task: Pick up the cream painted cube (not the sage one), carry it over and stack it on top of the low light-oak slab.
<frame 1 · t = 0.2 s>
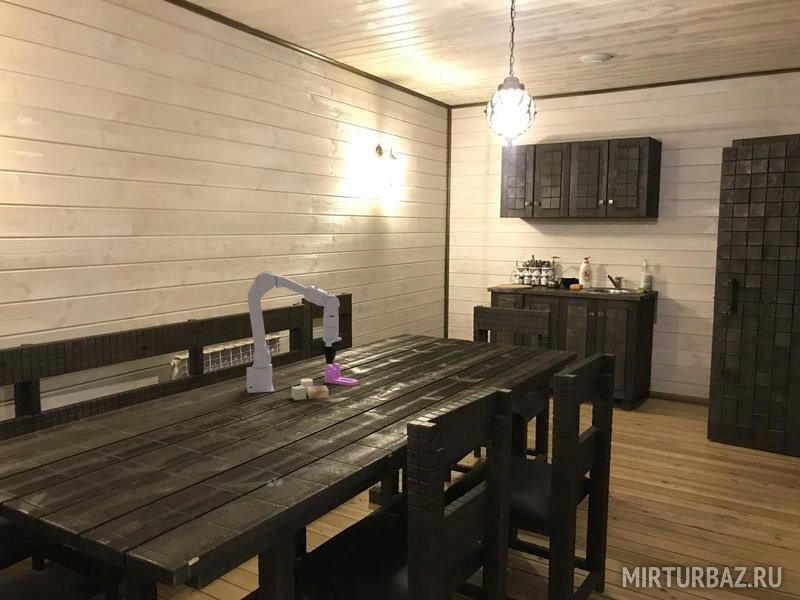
hand: (330, 361, 242), 10 cm above the table, fingers open, 7 cm apart
cream cube: (306, 390, 238), on the table
oak slab: (317, 396, 231), on the table
bracket: (342, 383, 250), on the table
sage cube: (298, 398, 227), on the table
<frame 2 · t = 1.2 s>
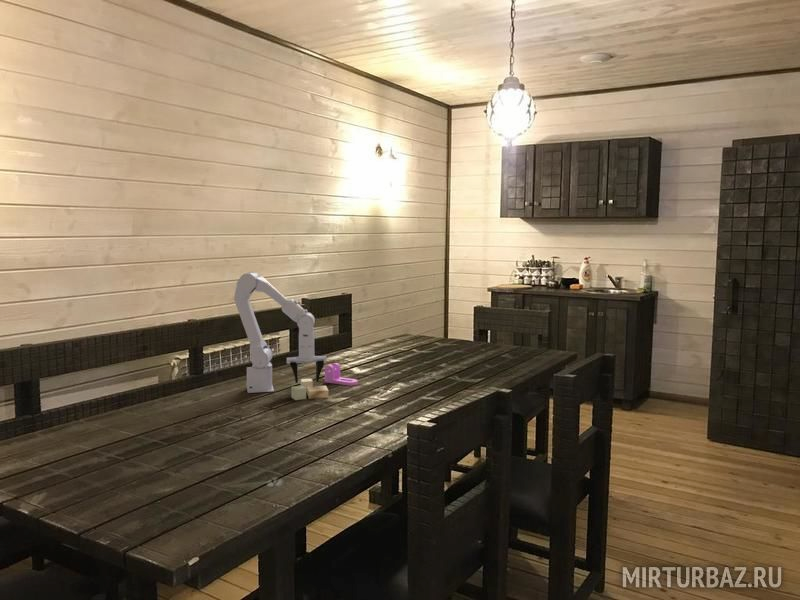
hand: (306, 381, 237), 3 cm above the table, fingers open, 7 cm apart
nothing on the table moved.
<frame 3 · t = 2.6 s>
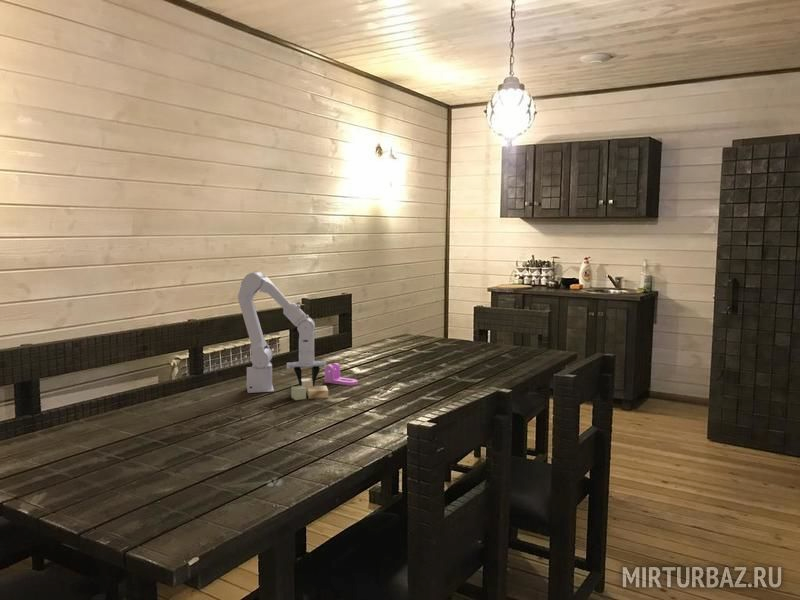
hand: (306, 386, 238), 1 cm above the table, fingers closed on cream cube, 4 cm apart
cream cube: (306, 390, 238), on the table, touching gripper
everything else where it was.
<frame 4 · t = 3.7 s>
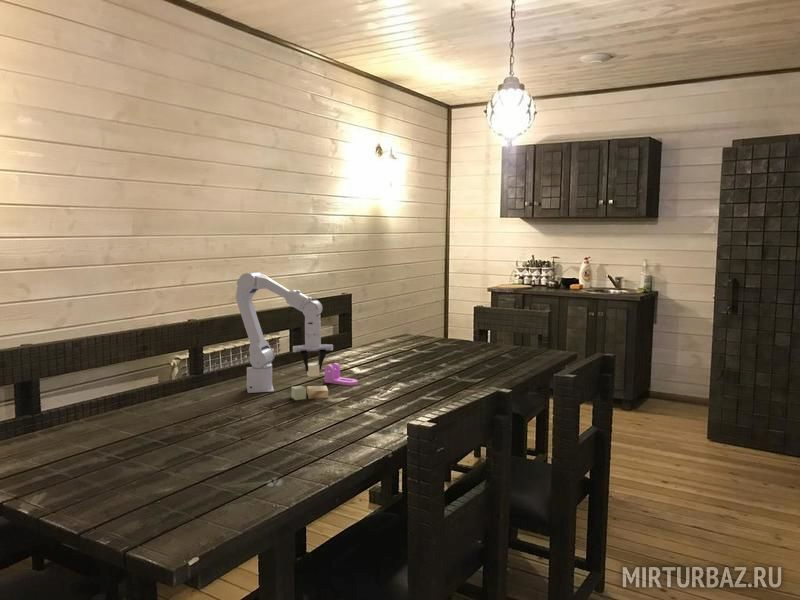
hand: (313, 370, 233), 9 cm above the table, fingers closed on cream cube, 4 cm apart
cream cube: (313, 375, 233), point 7 cm above the table, touching gripper
everything else where it was.
when the fingers open (6 cm above the table, at t = 5.2 s): cream cube drops 1 cm, resting on oak slab.
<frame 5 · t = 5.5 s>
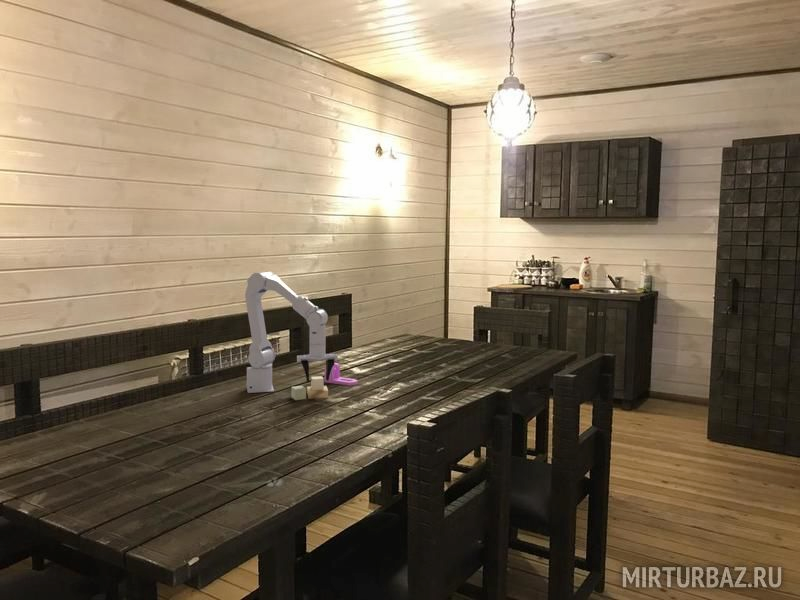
hand: (317, 380, 230), 6 cm above the table, fingers open, 6 cm apart
cream cube: (317, 388, 231), point 3 cm above the table, touching oak slab
oak slab: (317, 396, 231), on the table, touching cream cube
everything else where it was.
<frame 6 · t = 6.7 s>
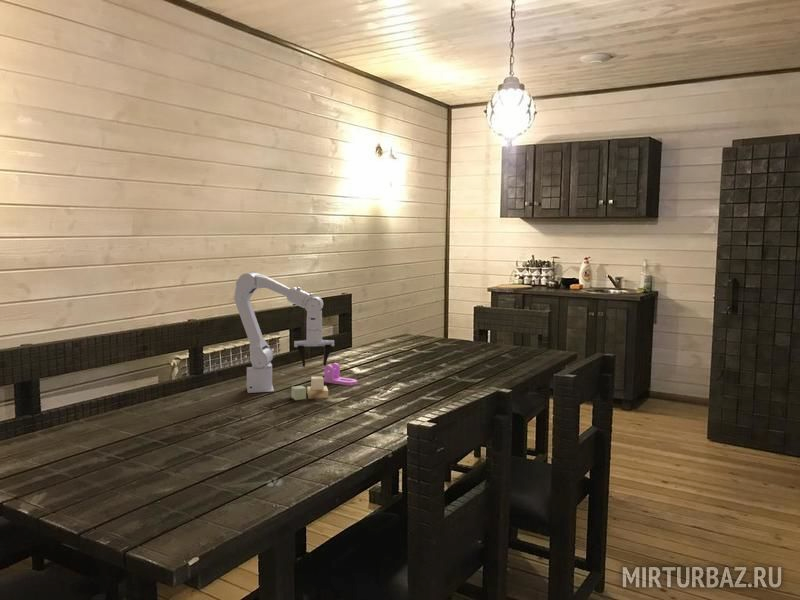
hand: (314, 365, 235), 10 cm above the table, fingers open, 7 cm apart
cream cube: (317, 388, 230), point 3 cm above the table
oak slab: (317, 396, 231), on the table
everything else where it was.
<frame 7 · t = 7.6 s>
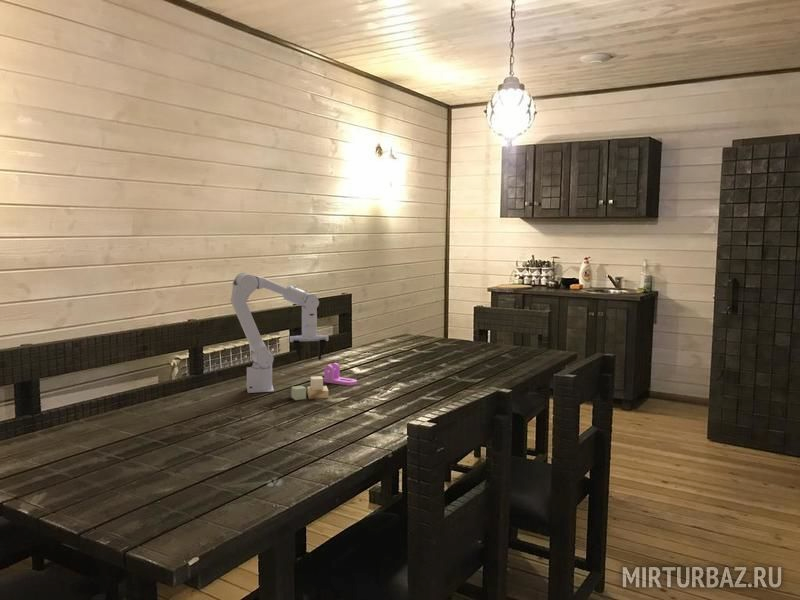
hand: (309, 359, 245), 10 cm above the table, fingers open, 7 cm apart
nothing on the table moved.
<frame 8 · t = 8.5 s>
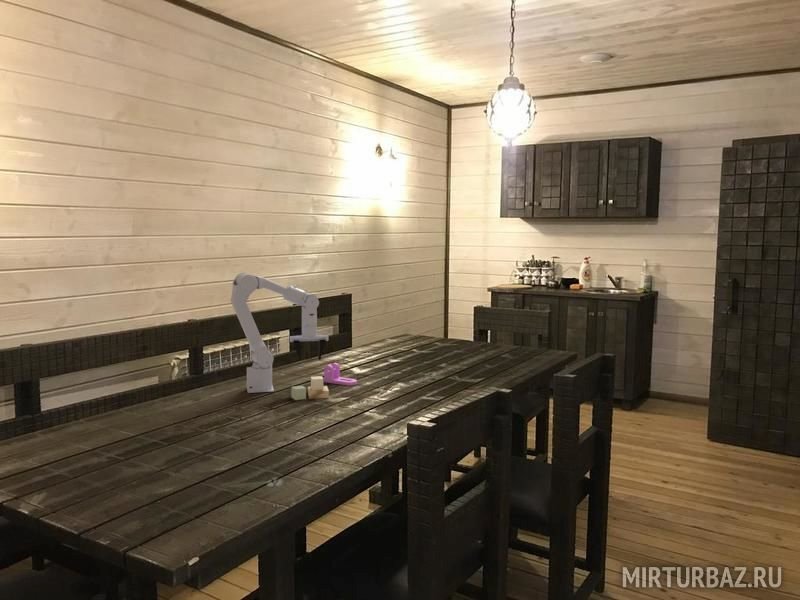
hand: (309, 359, 245), 10 cm above the table, fingers open, 7 cm apart
cream cube: (317, 388, 230), point 3 cm above the table, touching oak slab
oak slab: (318, 396, 231), on the table, touching cream cube
everything else where it was.
at the end: cream cube 0.5 cm off-centre on the oak slab, point 3.0 cm above the oak slab's base; cream cube tilted 0°; the gripper is holding nothing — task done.
